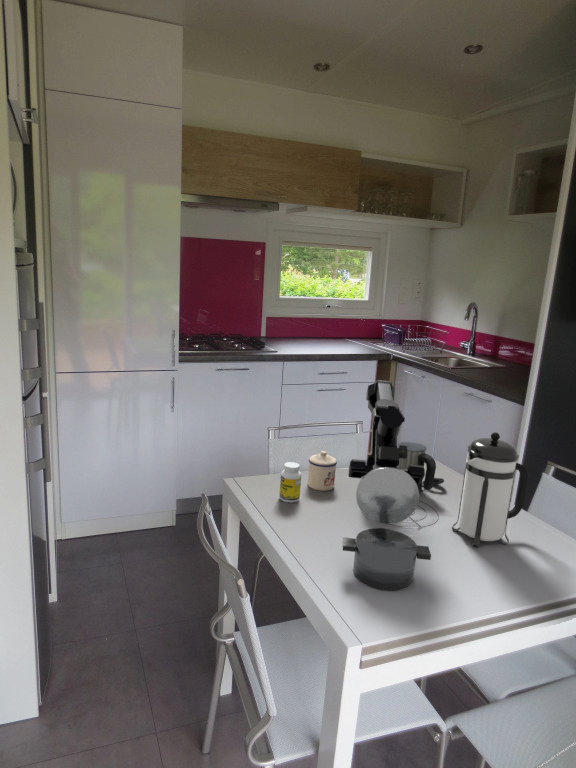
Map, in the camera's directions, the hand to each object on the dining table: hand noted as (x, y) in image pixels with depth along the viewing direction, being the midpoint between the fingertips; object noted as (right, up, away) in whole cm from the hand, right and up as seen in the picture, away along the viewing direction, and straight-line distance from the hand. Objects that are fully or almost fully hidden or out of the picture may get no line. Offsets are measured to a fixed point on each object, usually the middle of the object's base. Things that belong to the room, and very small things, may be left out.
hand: (385, 503), depth 134 cm
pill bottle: (-24, -6, +31) cm, 39 cm away
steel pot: (-2, -15, -7) cm, 17 cm away
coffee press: (+30, -13, +16) cm, 36 cm away
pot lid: (0, +2, -3) cm, 4 cm away
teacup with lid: (-13, -4, +44) cm, 46 cm away
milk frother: (+19, -5, +47) cm, 51 cm away
